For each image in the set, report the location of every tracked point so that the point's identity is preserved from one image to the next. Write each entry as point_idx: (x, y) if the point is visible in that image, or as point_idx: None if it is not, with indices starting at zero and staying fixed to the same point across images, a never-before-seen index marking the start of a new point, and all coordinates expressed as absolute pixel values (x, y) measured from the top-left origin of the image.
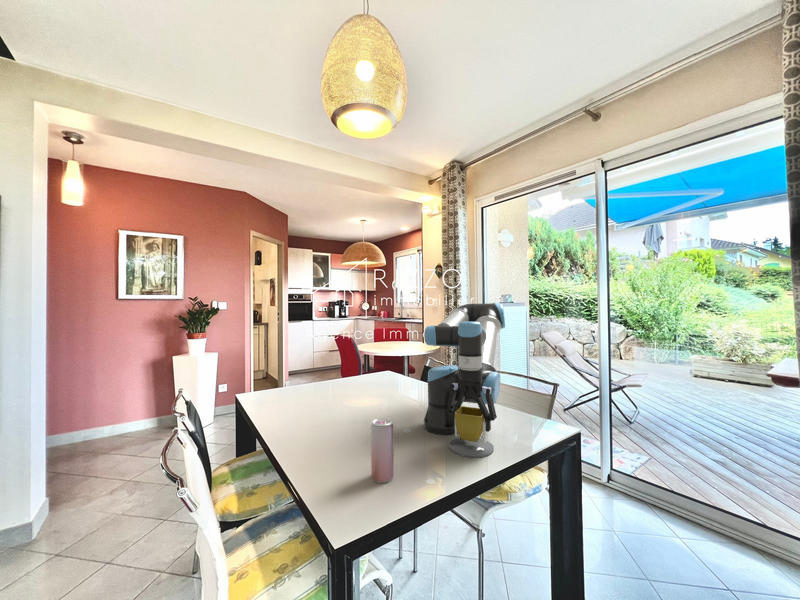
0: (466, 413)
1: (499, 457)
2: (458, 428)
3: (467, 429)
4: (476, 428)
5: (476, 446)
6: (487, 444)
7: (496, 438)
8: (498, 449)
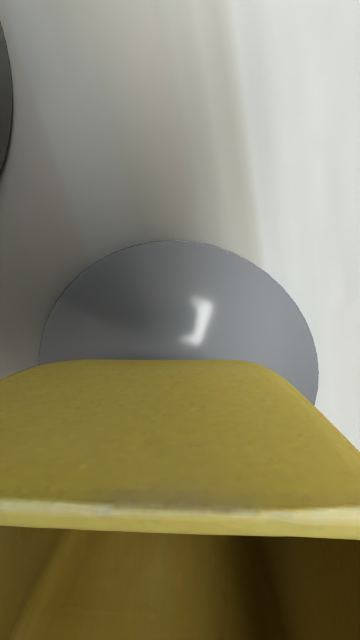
0: (4, 428)
1: (351, 435)
2: (70, 575)
3: (151, 583)
4: (239, 620)
5: None
6: (271, 330)
7: (318, 126)
8: (342, 333)
